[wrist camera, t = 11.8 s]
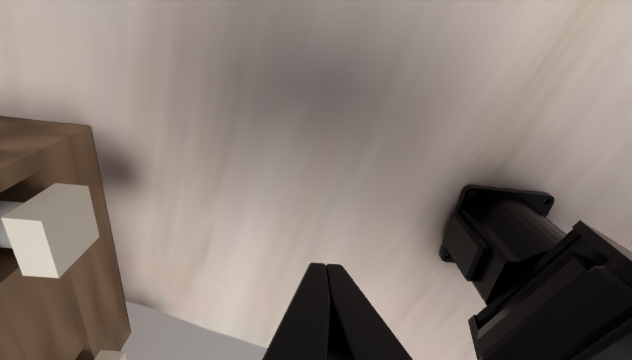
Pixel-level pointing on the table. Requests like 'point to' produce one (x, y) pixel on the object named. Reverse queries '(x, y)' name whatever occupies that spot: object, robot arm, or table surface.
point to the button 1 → (49, 229)
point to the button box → (82, 276)
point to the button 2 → (111, 355)
